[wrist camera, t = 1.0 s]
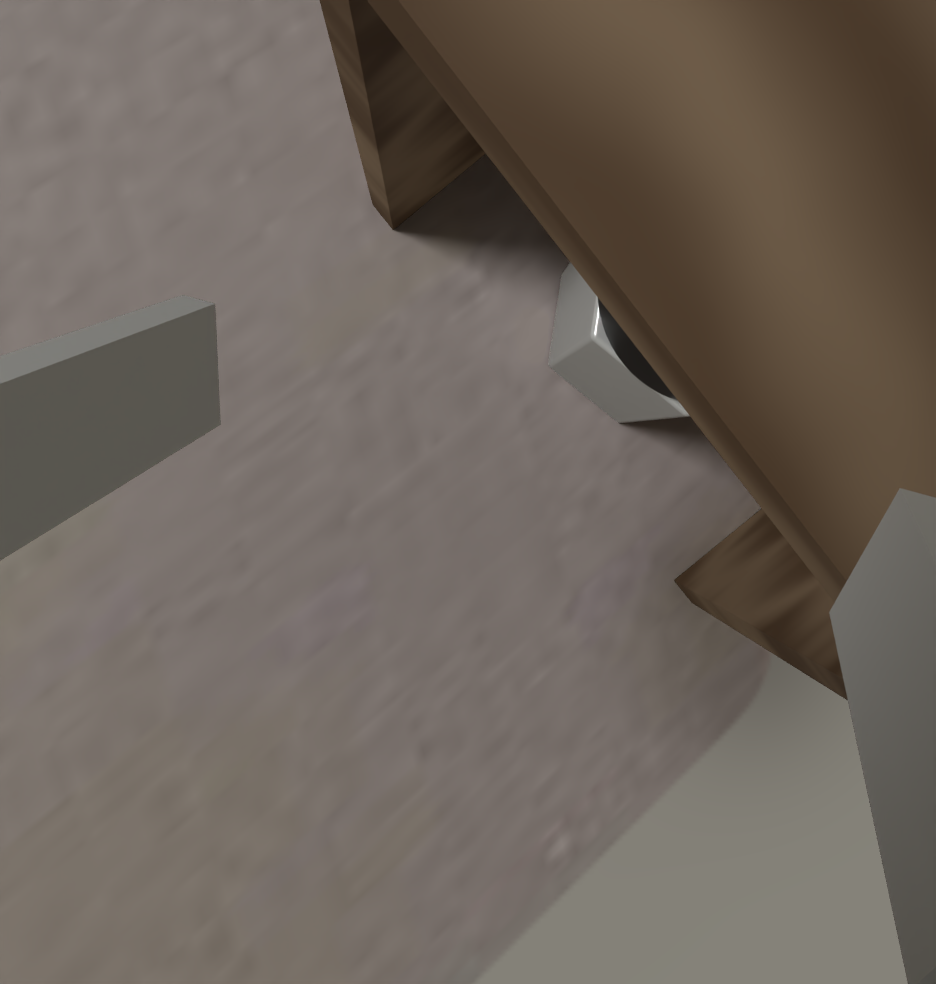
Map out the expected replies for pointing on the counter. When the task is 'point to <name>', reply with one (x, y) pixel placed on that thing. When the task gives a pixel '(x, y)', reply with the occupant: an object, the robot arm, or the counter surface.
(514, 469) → the counter surface
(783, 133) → the archway
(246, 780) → the counter surface
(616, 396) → the jar
